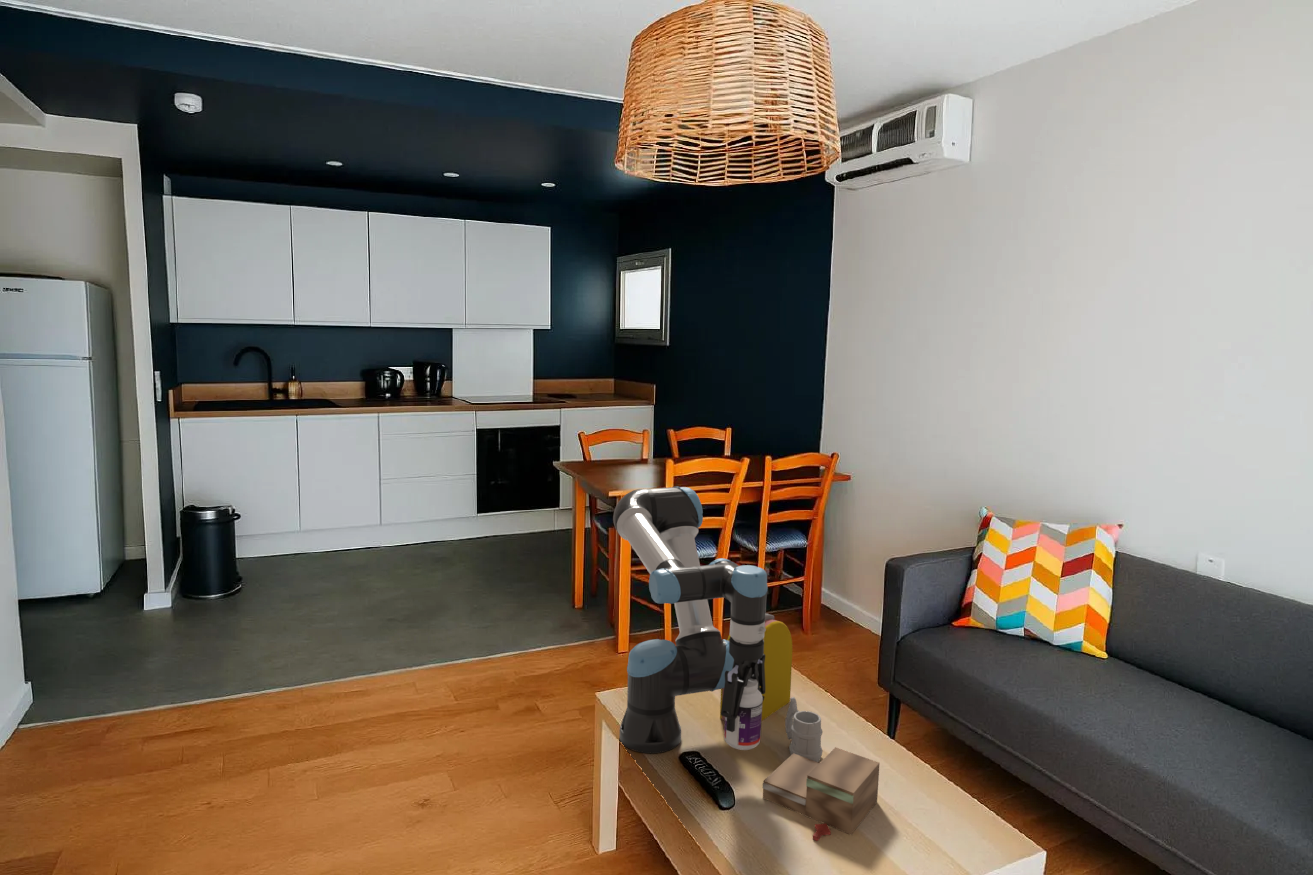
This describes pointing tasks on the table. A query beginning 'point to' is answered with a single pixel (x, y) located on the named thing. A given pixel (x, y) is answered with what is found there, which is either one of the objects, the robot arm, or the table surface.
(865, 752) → the table surface
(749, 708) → the pill bottle
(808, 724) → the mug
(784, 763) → the step stand
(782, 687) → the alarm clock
